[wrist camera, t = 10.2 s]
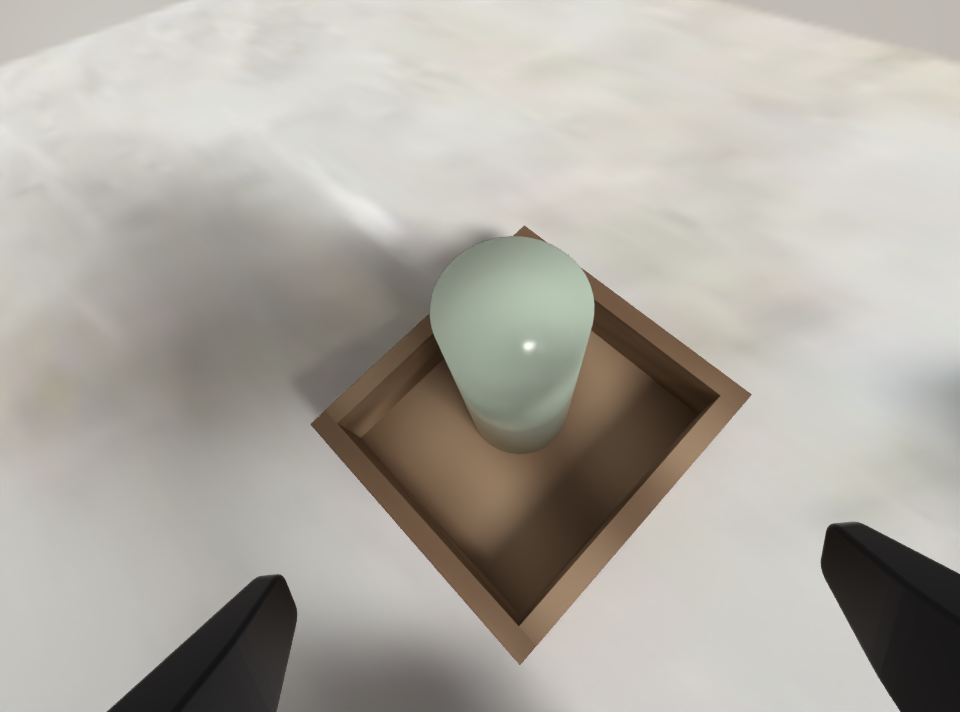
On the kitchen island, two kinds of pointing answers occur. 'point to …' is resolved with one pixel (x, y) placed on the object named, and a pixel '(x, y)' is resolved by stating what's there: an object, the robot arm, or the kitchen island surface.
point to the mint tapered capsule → (514, 337)
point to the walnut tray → (531, 464)
